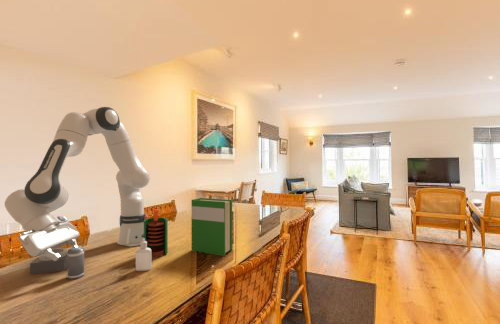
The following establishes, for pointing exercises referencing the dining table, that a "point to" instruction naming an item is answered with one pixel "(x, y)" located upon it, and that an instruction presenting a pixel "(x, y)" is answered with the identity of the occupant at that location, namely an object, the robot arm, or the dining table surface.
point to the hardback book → (212, 225)
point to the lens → (75, 263)
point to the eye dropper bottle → (143, 257)
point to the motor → (156, 234)
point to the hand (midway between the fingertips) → (68, 254)
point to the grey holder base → (50, 262)
